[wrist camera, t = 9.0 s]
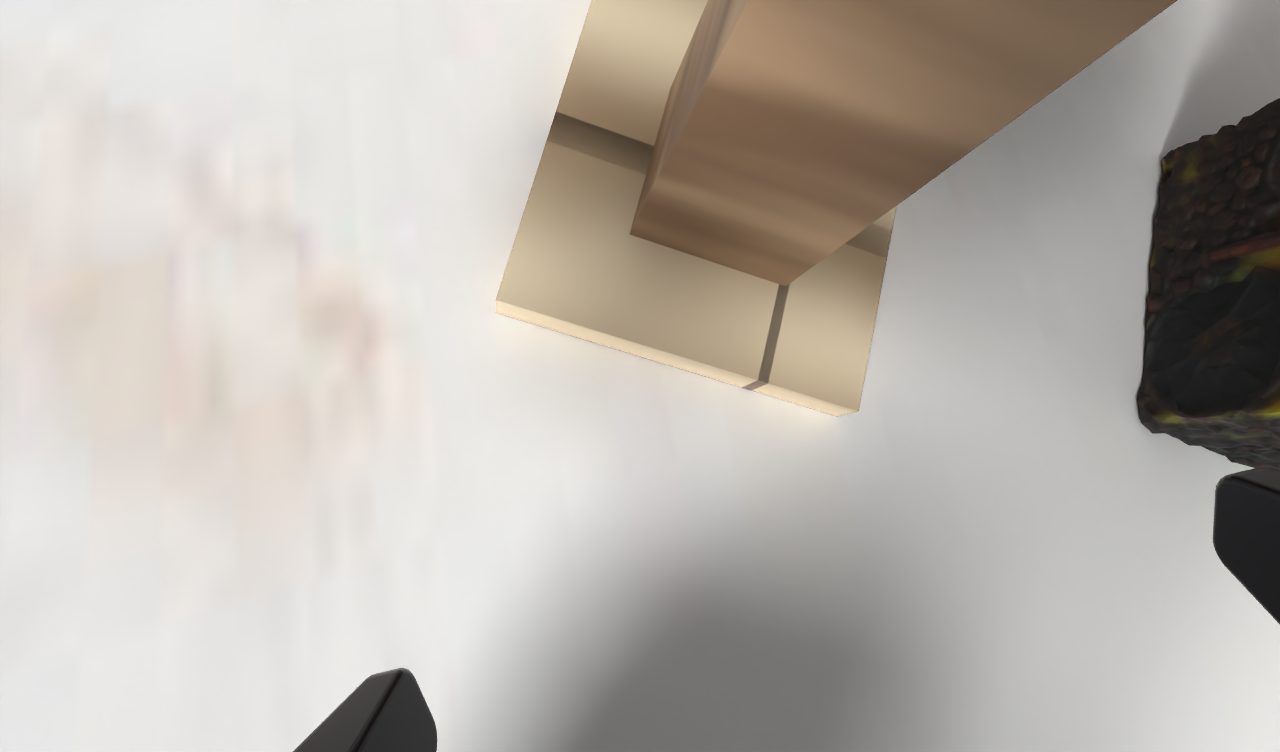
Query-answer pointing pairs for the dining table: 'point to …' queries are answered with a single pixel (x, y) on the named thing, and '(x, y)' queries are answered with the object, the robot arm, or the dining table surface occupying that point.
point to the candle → (1218, 295)
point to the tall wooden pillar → (846, 113)
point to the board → (661, 276)
